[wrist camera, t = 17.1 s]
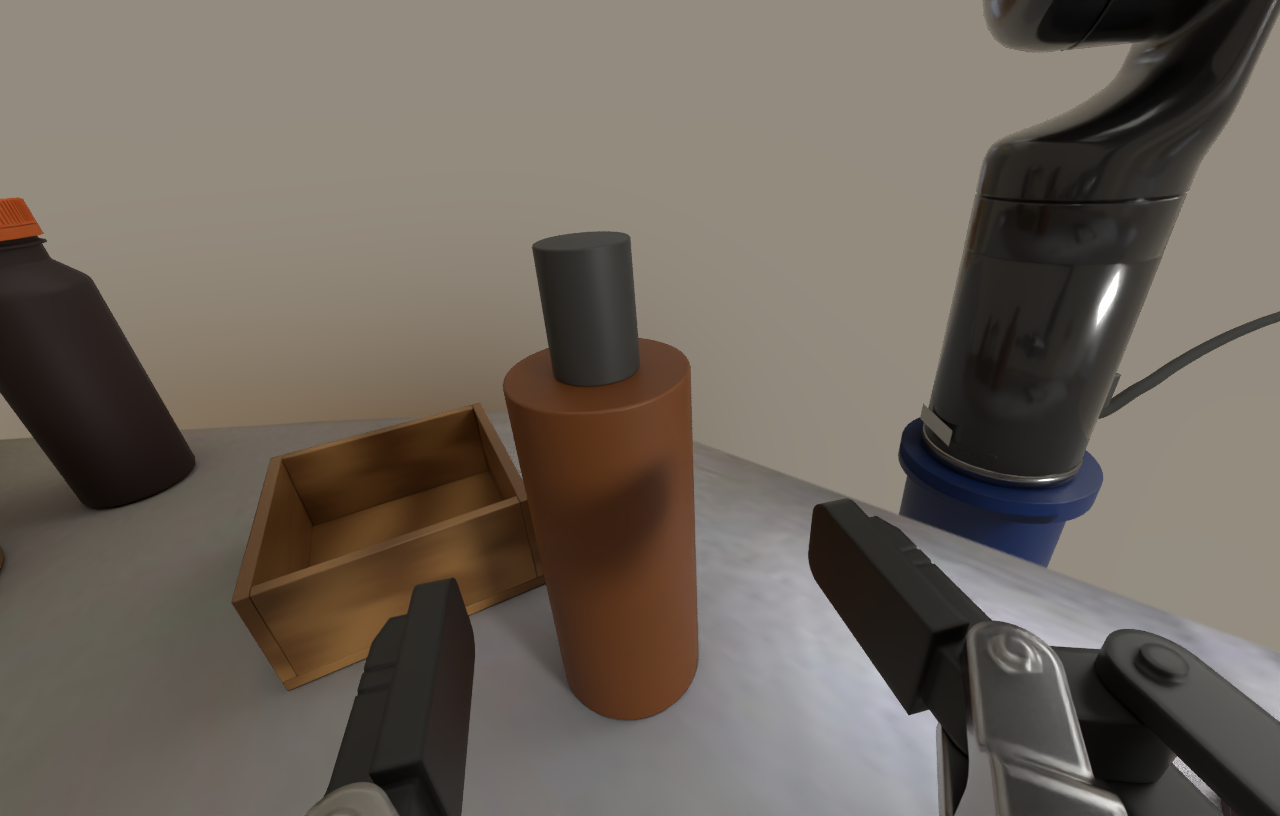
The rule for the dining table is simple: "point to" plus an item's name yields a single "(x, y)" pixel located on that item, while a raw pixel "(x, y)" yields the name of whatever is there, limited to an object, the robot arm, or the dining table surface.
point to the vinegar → (79, 376)
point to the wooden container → (1, 557)
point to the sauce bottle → (609, 480)
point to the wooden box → (381, 537)
